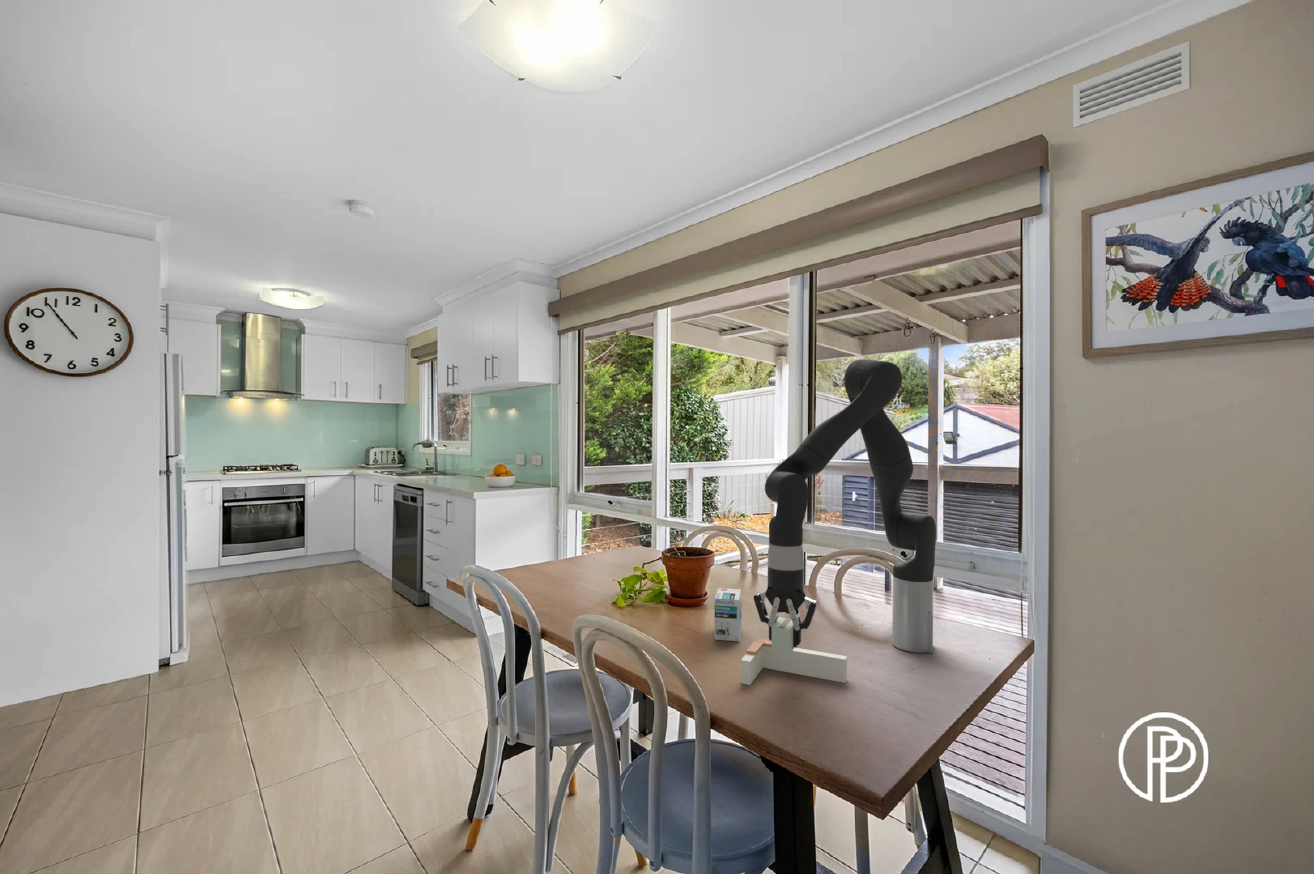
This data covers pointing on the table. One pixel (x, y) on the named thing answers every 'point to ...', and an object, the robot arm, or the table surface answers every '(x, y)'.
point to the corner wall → (792, 662)
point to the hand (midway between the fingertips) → (784, 644)
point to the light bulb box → (728, 614)
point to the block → (782, 635)
